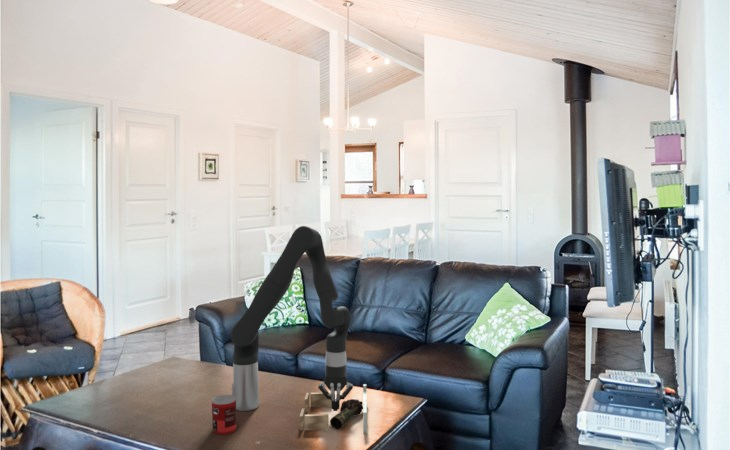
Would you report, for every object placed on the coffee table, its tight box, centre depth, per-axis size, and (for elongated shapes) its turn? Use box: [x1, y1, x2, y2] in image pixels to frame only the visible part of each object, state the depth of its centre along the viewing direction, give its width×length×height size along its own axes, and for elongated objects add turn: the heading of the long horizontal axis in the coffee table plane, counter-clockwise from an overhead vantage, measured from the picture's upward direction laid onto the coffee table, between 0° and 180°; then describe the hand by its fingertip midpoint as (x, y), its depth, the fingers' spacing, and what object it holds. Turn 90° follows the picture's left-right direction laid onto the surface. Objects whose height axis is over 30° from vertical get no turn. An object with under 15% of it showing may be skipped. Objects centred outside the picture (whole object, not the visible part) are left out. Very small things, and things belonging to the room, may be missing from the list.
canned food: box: [211, 394, 237, 436], centre depth 187 cm, size 8×8×11 cm
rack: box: [362, 383, 368, 434], centre depth 197 cm, size 1×28×7 cm, turn 0°
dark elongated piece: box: [329, 398, 363, 431], centre depth 194 cm, size 18×7×6 cm, turn 153°
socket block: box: [299, 391, 332, 431], centre depth 197 cm, size 10×22×5 cm, turn 0°
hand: (335, 410), depth 197 cm, fingers closed
